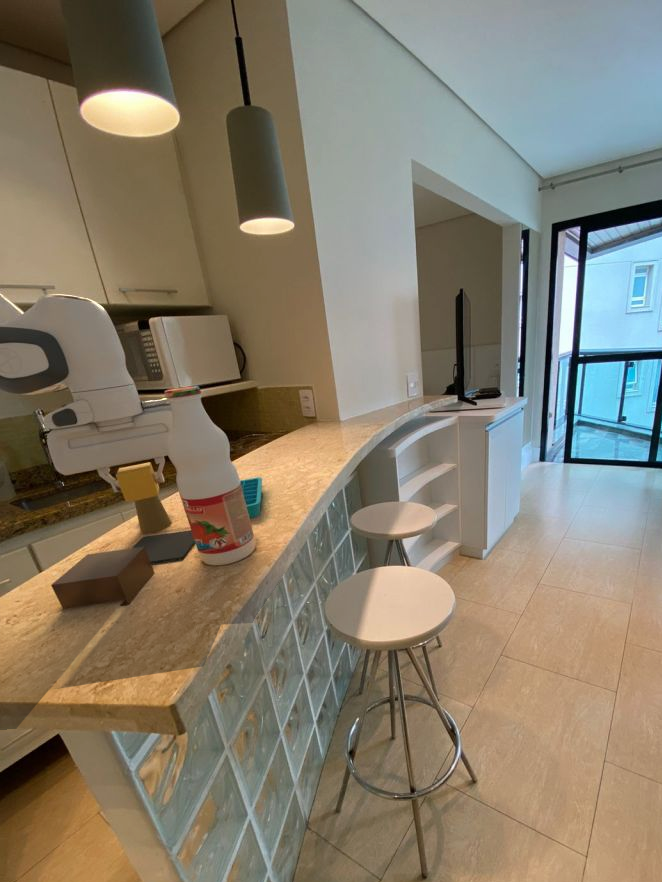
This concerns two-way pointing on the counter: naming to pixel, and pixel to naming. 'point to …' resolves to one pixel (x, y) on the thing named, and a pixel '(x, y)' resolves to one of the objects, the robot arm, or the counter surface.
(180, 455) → the fruit juice
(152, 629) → the counter surface
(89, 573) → the walnut block
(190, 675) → the counter surface
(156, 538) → the coaster
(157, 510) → the cork
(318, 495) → the counter surface
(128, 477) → the mustard cube
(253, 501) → the ice cube tray
